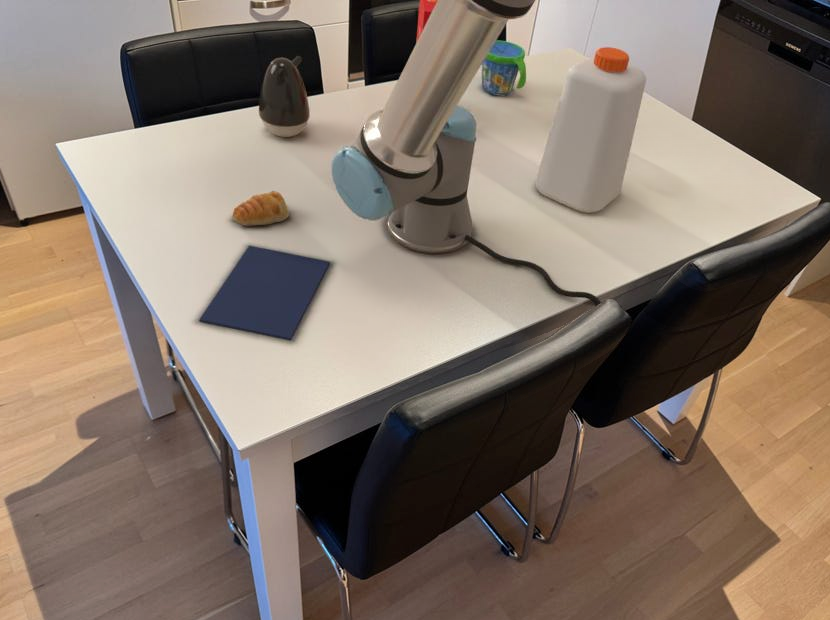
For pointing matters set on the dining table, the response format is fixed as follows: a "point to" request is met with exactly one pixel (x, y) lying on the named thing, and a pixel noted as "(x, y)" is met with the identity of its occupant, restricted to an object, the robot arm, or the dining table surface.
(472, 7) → the robot arm
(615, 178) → the plastic bottle
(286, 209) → the pastry
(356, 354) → the dining table surface
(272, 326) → the cloth mat
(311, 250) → the dining table surface
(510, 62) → the snack cup
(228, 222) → the dining table surface
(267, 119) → the pump dispenser
